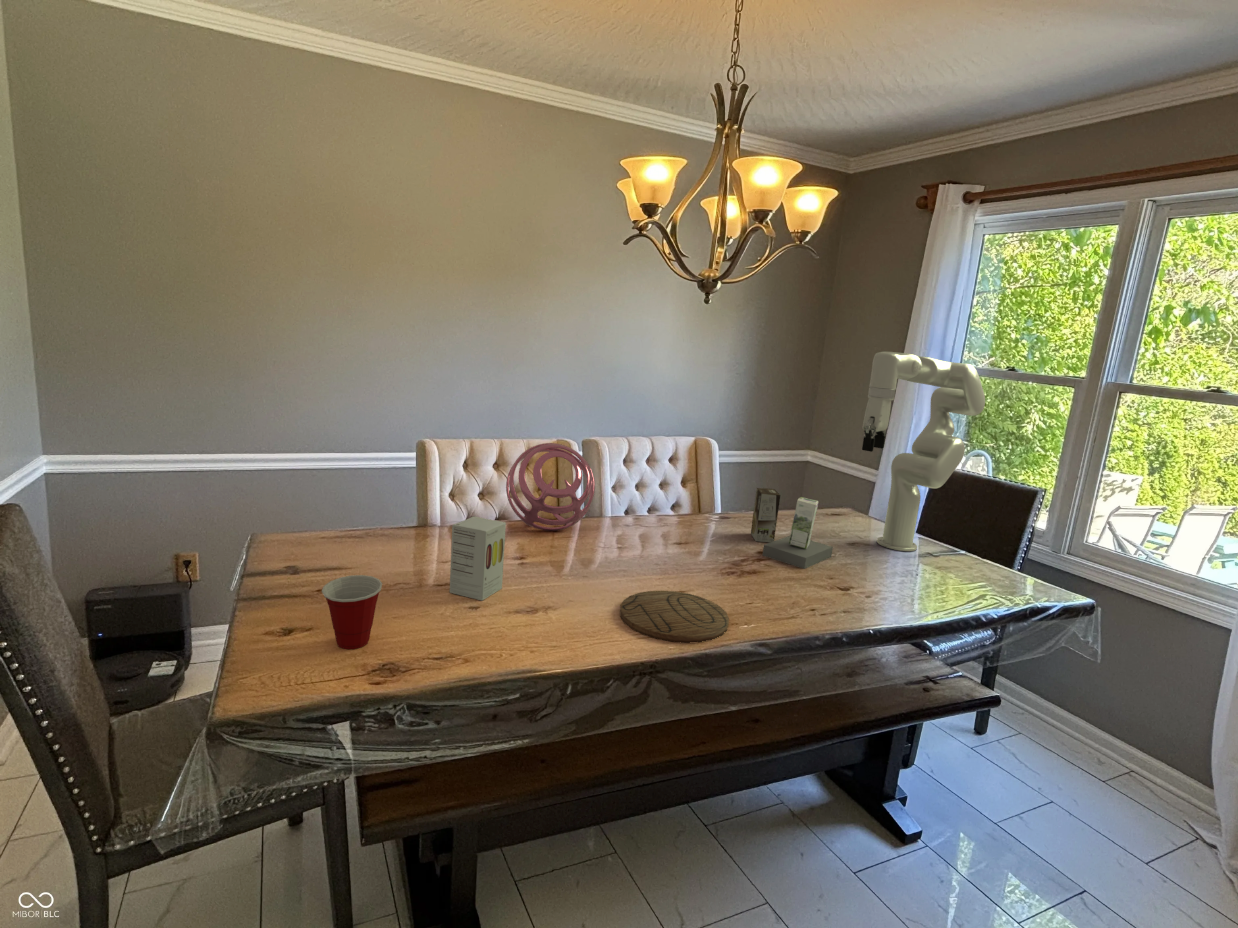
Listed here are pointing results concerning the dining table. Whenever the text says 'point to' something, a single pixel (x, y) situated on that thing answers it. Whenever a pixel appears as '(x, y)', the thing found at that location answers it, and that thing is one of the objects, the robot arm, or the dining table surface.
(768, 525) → the coffee box
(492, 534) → the supplement box
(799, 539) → the syrup box
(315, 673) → the dining table surface
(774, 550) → the plate
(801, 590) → the dining table surface
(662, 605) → the trivet
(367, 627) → the plastic cup
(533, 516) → the pink openwork sphere
